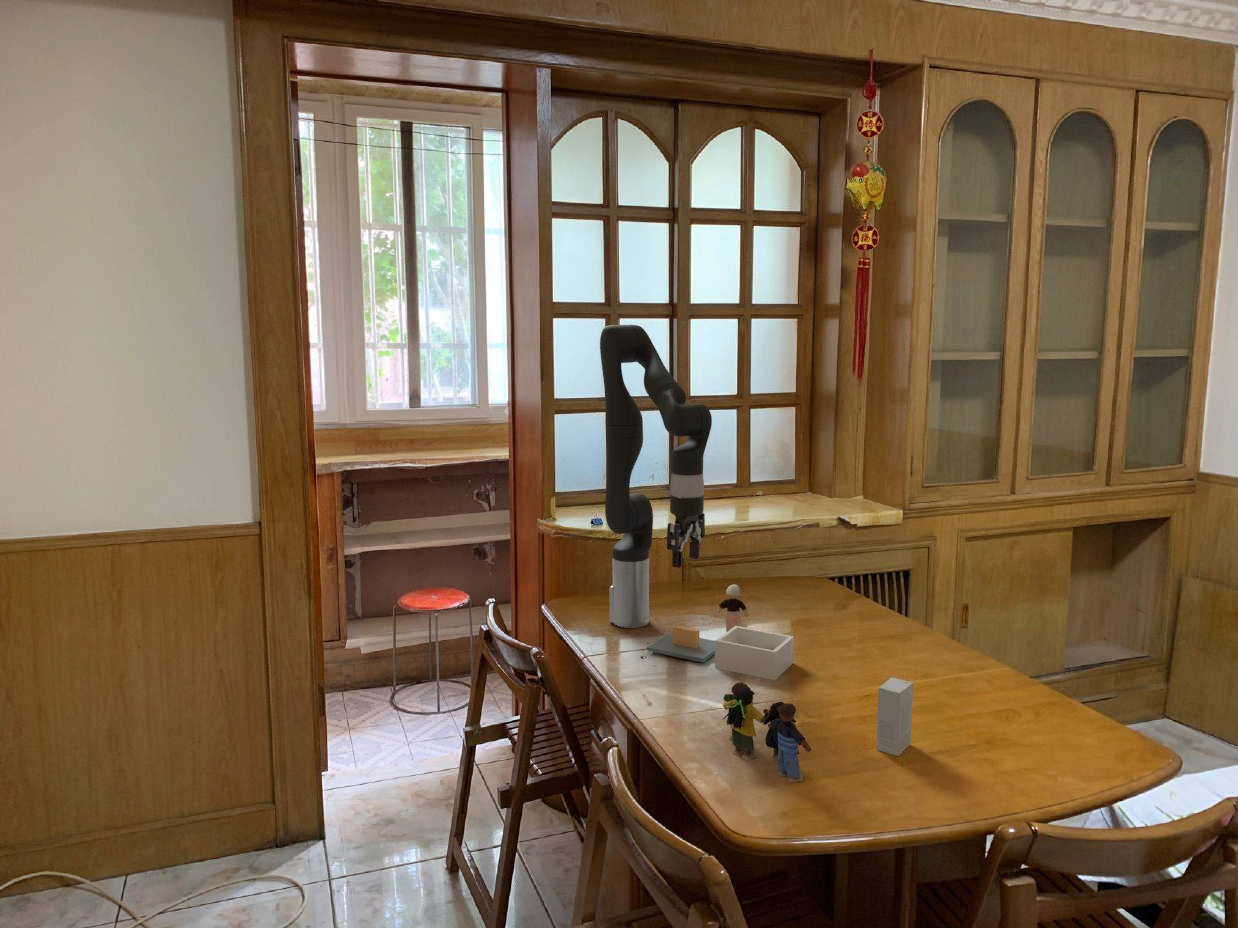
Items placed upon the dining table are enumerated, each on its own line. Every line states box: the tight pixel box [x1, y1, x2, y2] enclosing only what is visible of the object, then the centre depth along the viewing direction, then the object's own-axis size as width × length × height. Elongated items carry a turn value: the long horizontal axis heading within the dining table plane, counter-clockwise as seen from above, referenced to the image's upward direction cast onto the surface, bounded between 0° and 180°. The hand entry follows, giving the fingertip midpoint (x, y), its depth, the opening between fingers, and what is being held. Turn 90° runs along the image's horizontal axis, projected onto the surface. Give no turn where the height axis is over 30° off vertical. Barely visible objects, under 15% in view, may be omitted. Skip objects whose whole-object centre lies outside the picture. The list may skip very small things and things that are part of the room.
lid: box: [646, 624, 715, 663], centre depth 207 cm, size 14×11×6 cm
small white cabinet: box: [714, 626, 795, 681], centre depth 198 cm, size 14×11×7 cm
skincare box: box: [876, 677, 914, 757], centre depth 161 cm, size 6×4×12 cm
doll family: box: [721, 682, 812, 783], centre depth 157 cm, size 23×9×13 cm, turn 45°
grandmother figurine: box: [716, 583, 750, 632], centre depth 219 cm, size 8×4×13 cm, turn 84°
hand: (685, 562), depth 204 cm, fingers open, 8 cm apart
